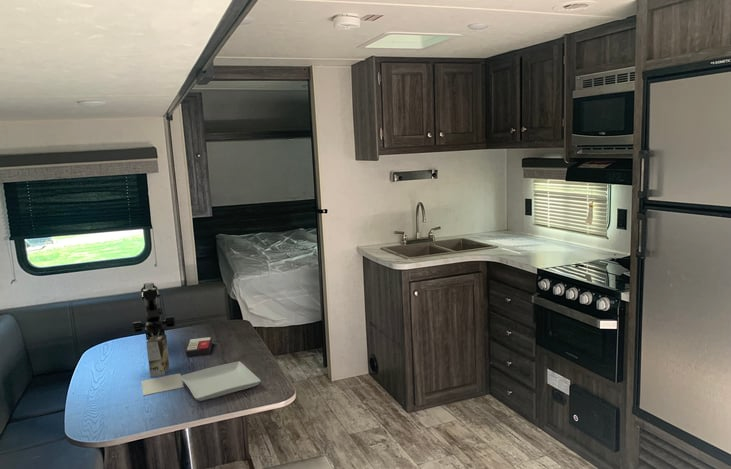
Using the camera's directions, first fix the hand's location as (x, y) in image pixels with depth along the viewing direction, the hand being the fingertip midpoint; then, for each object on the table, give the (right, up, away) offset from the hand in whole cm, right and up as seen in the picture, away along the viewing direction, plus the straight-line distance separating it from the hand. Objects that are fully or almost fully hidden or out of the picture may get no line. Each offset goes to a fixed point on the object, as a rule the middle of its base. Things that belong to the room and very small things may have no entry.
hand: (156, 340), depth 256 cm
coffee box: (+5, -13, -8) cm, 16 cm away
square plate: (+37, -15, -26) cm, 47 cm away
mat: (+11, -15, -22) cm, 29 cm away
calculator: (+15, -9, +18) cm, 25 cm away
